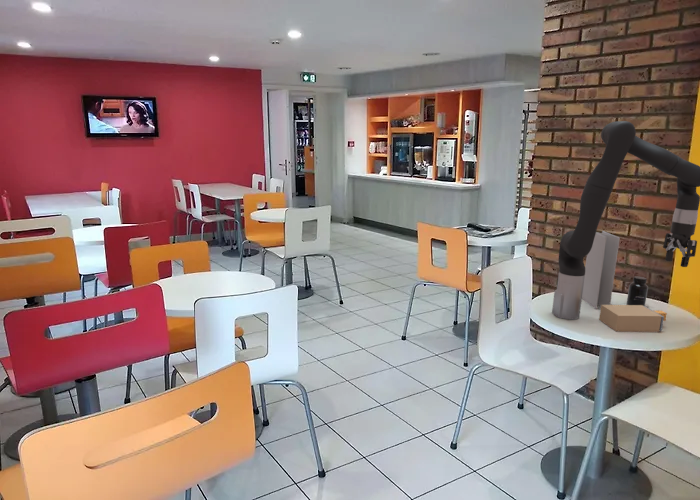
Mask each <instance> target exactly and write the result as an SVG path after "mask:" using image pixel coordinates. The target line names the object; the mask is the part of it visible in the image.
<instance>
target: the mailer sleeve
mask: <svg viewBox="0 0 700 500" xmlns="http://www.w3.org/2000/svg"><path fill="white" fill-rule="evenodd" d="M646 307H647V306H646ZM646 307H644V306H643V305H628V304H610V305H601V306H600V311H599V318H598V319H599V321H600V322H602V323H604V324H605V325H606V326H607V327H610V329H612V330H613V331H615V332H631V333H632V332H639V333H640V332H642V333H646V332H647V333H649V332H650V333H656V332H657V333H658V332H659V333H660V330H659V329H660V323H661V317H662V316H660V315H659V314H657V313H655V312H653V311H654V310H653V311H651V310H652V309H651V308H649V307H647V308H646ZM648 308H649V309H648ZM650 309H651V310H650Z"/></svg>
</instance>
